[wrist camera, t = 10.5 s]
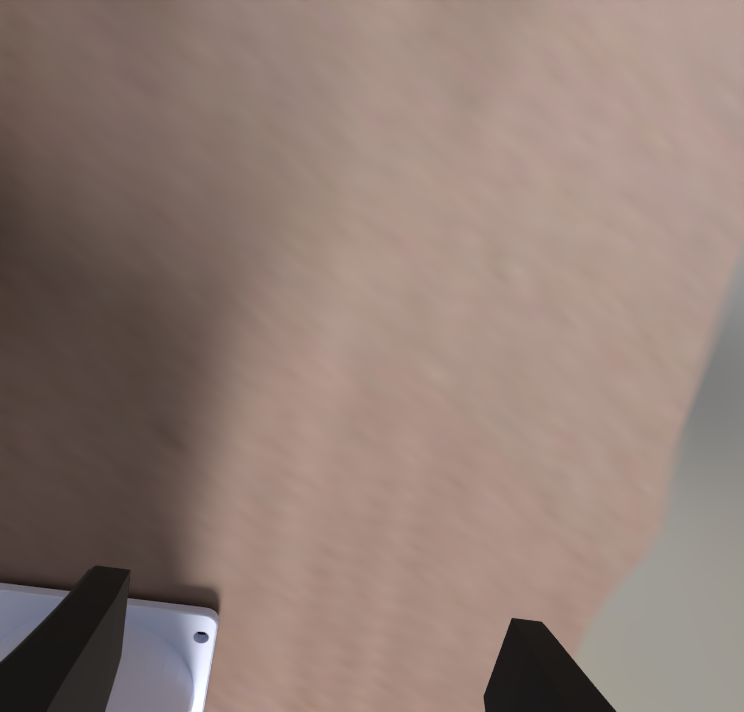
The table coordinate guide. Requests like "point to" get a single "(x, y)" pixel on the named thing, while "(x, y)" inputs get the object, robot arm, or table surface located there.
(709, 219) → the table surface
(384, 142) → the table surface
